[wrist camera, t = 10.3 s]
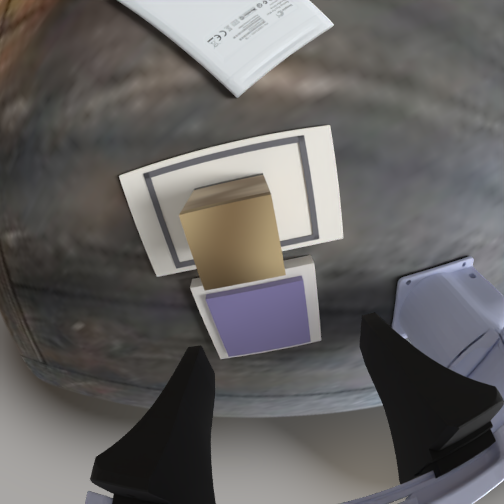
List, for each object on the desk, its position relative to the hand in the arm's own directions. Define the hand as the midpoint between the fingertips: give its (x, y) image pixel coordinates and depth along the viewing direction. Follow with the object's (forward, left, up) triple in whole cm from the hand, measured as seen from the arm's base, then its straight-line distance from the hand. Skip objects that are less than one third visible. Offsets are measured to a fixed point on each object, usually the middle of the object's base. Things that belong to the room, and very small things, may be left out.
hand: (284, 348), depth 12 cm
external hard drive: (-1, -18, -10) cm, 21 cm away
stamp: (+1, -4, -9) cm, 10 cm away
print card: (+1, -4, -9) cm, 10 cm away
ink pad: (+1, +5, -9) cm, 11 cm away
